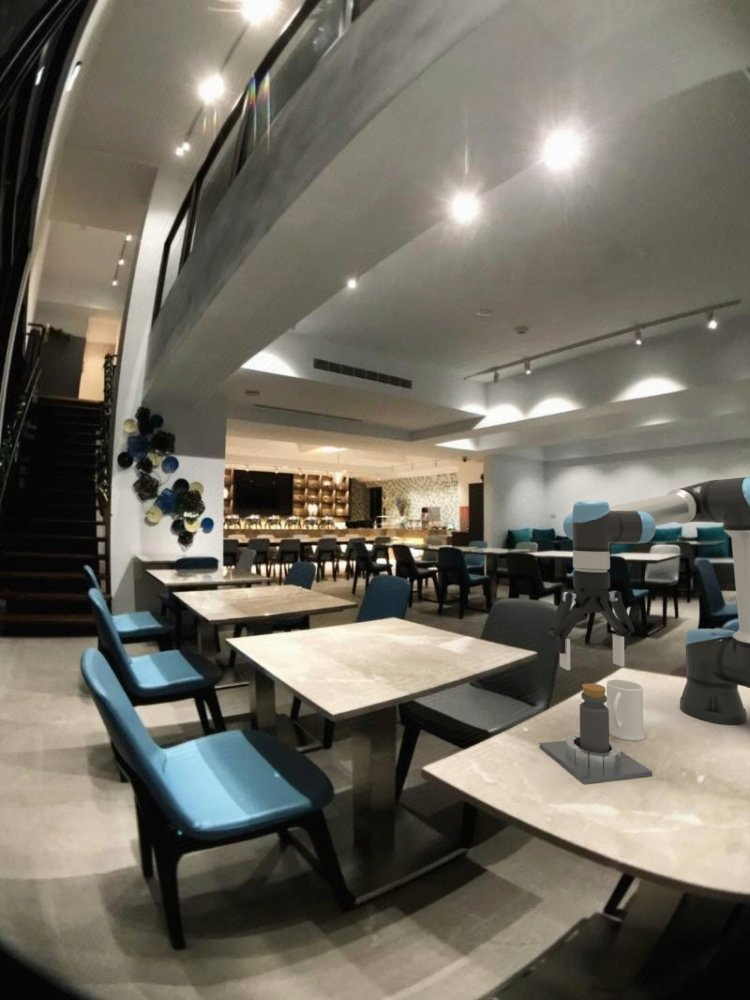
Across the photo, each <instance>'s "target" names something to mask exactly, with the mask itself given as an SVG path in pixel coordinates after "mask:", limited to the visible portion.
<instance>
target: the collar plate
mask: <svg viewBox="0 0 750 1000" xmlns="http://www.w3.org/2000/svg"><path fill="white" fill-rule="evenodd" d="M538 748H539V749H541V750H542V751H543V752H545V754H547V755H548V756H549V757H550V758H551V759H552V760H554V761H555V762H556V763H558V764H559V765H560V766H561V767H563V769H565V770H566V771H567V772H569V773H570V774H571V775H572V776H573V777H575V778H576V779H577V780H578V781H579V782H581V783H582V784H583V785H591V784H598V783H599V784H600V783H607V782H616V781H623V780H632V779H641V778H648V777H653V771H652V770H651V769H649V768H648V767H647V766H644V765H643V764H642V763H640V762H638V761H637V760H635V759H634V758H632V757H631V756H629V755H628V754H627V753H624V752H623V751H621V750H620V747H619V745H618V744H617V743H615V742H613V741H611V740H610V739H609V752H607V753H595V752H589V751H586V750H583V749H581V748H580V733H577V734H575V733H574V734H571V735H569V736H567V737H566V738H565V740H556V741H548V742H546V741H545V742H539V746H538Z"/></svg>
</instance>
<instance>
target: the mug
mask: <svg viewBox="0 0 750 1000" xmlns="http://www.w3.org/2000/svg"><path fill="white" fill-rule="evenodd" d="M606 697H607V701H606V707H607V708H608V710H609V736H610V735H611V736H612V737H614V738H617V739H619V740H624V741H630V742H636V741H637V742H638V741H639V742H640V741H642V740H644V739H645V738H646V737H645V736H646V735H645V731H644V687H643V686H642V685H641V684H639V683H637V682H633V681H631V680H625V679H608V680H607V681H606Z"/></svg>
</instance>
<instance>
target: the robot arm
mask: <svg viewBox="0 0 750 1000" xmlns="http://www.w3.org/2000/svg"><path fill="white" fill-rule="evenodd" d="M562 522H563V523H562V529H563V532H564V534H565V536H566V537H567V538H568V539H570V540H572V549H573V550H572V567H573V568H574V569H575V570H573V571H572V585H573V588H574V591H573V593H572V592H567V591H562V592H561V593H560V602H559V604H558V607H557V609H556V611H555V613H554V616H553V618H552V621H551V623H550V625H549V627H548V630H547V633H548V635H551V636H555V638H556V651H557V653H559V667H561V669H564V670H566V671H571V639H569V638H568V636H569V635H570V634H571V632H572V631H573V629H574V628H575V627H576V625H577V624H578V622H579V621H580V619H581V618H582V616H585V614H592V613H597V614H598V613H599V614H601V615H602V617H603V618H604V619H605V620H606V621H607V623H608V625H610V627H611V628H612V629H613V631H614V632H615V633H612V664H615V665H617V666H618V667H619V666H620V667H622V668H623V667H625V651H626V650H627V638H629V637H630V636H631V634H633V633H634V632H635V631H636V630H635V627H634V625H633V623H632V620H631V618H630V615H629V614H628V612H627V611H628V610H627V608H626V606H625V605H624V601H623V595H622V592H621V591H617V590H612V589H611V590H610V591H609V589H610V588H611V573H610V572H609V571H608V570H610V568H611V559H610V557H611V555H610V553H611V552H610V546H611V545H610V544H632V545H638V544H646V543H648V542H649V541H651V540H652V539H653V537H654V536H655V535H656V527H658V526H662V525H667V524H670V523H674V522H675V523H677V524H682V525H683V524H687V523H688V524H689V523H714V524H715V523H717V524H718V523H721V524H722V527H723V528H722V529H723V531H724V532H725V534H727V535H728V536H730V537H731V547H732V548H731V549H732V559H733V570H734V582H735V593H736V605H737V616H738V630H737V631H735V630H731V629H721V628H694V629H689V630H688V631H687V633H686V639H685V643H684V644H685V663H686V666H685V667H686V683H685V685H684V688H683V691H682V694H681V697H680V699H679V708H680V710H681V711H682V712H683V713H685V714H687V715H689V716H691V717H694V718H696V719H699V720H703V721H706V722H711V723H716V724H723V725H724V724H725V725H743V724H745V723H746V722H747V719H748V718H747V717H748V716H747V714H748V713H747V710H746V708H745V707H744V704H743V701H742V697H741V695H740V692H739V687H738V685H739V686H741V687H745V688H749V689H750V476H745V477H744V476H743V477H734V478H724V479H723V478H722V479H712V480H711V479H710V480H706V481H703V482H699V483H695V484H692V485H687V486H684V487H681V488H677V489H672V490H670V491H669V492H668V493H667V494H666V495H661V496H655V497H651V498H647V499H641V500H637V501H631V502H627V503H622V504H617V505H616V504H615V505H612V506H610V504H609V502H607V501H605V500H604V501H601V500H587V501H586V500H585V501H577V502H575V503H574V504H573V507H572V512H571V513H569V514H568V515H566V516H565V518H564V520H563V521H562ZM609 601H610V604H611V606H612V607H610V605H609V604H608V602H609ZM572 603H574V604H573V605H572ZM613 610H614V612H613ZM614 613H615V614H614Z"/></svg>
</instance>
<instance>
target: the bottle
mask: <svg viewBox="0 0 750 1000" xmlns="http://www.w3.org/2000/svg"><path fill="white" fill-rule="evenodd" d="M581 687H582V692H581V693H580V697H581V699H582V700H583V702H581V703H580V704H579V734H580V748H581V749H583V750H586V751H589V752H595V753H607V752H609V740H610V734H609V710H608V708H607V705H605V703H607V695H606V691H607V687H605V686H603V685H601V684H597V683H583V684H582V686H581Z"/></svg>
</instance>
